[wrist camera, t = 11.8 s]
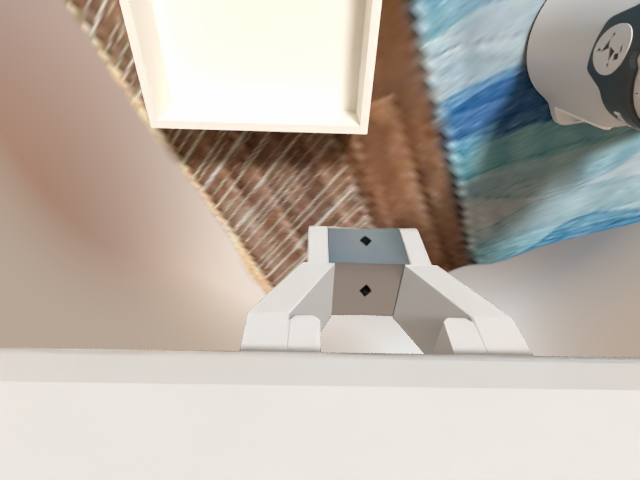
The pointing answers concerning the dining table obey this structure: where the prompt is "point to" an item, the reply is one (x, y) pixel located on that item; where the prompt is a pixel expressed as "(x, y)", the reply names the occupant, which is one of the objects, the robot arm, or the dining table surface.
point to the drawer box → (255, 63)
